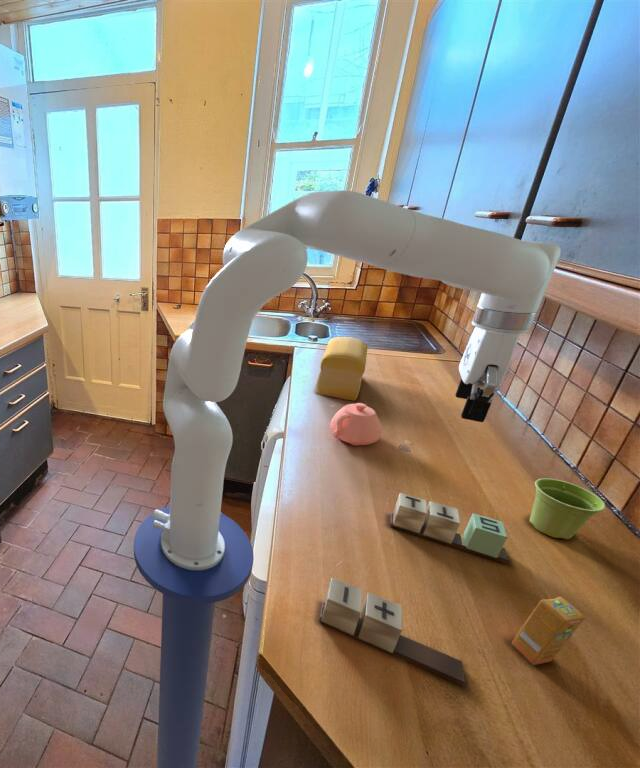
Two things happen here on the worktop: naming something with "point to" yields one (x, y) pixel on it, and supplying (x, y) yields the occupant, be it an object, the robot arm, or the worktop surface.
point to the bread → (342, 368)
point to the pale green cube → (485, 535)
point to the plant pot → (562, 507)
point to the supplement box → (547, 630)
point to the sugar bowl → (356, 424)
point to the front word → (383, 629)
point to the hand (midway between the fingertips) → (468, 408)
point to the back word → (433, 523)
